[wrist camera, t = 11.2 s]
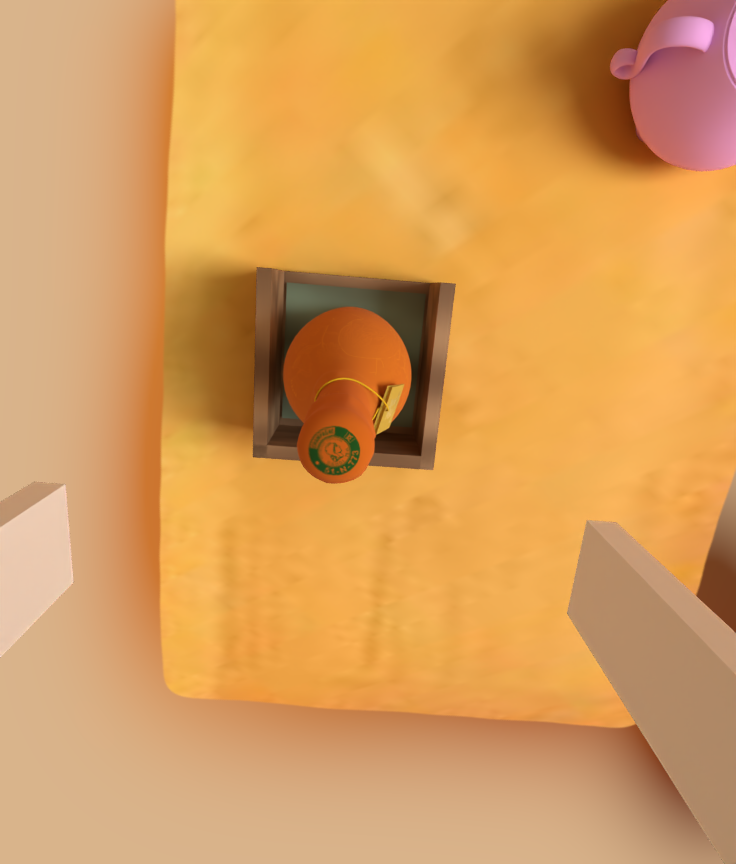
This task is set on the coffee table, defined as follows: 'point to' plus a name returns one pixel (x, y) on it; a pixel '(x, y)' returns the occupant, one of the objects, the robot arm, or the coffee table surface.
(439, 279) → the coffee table surface
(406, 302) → the wooden box
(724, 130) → the teapot
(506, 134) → the coffee table surface
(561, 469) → the coffee table surface
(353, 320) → the wine bottle
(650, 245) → the coffee table surface
